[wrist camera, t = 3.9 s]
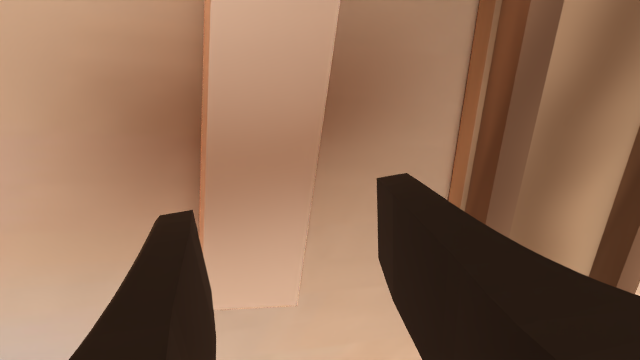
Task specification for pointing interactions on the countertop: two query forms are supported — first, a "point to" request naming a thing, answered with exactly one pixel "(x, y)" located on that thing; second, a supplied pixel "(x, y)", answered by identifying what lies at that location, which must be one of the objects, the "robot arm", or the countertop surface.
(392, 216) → the robot arm
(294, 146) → the beige rectangular block
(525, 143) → the rack
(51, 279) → the countertop surface
